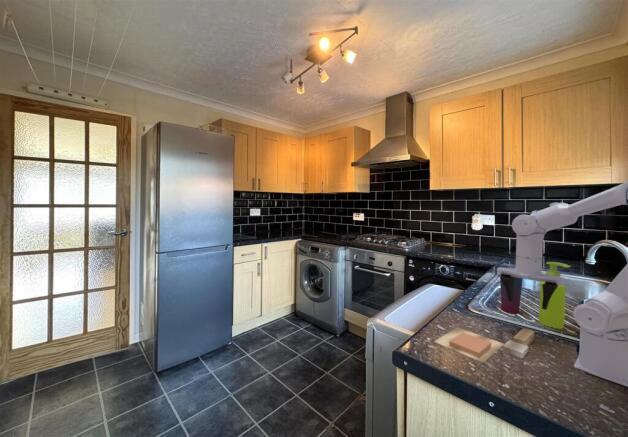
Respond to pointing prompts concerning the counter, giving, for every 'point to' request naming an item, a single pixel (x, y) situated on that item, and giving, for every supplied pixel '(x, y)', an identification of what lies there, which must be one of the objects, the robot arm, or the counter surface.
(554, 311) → the soap dispenser
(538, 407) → the counter surface
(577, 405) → the counter surface
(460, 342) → the tile
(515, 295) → the cup
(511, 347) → the turner
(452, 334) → the cork mat
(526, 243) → the robot arm
